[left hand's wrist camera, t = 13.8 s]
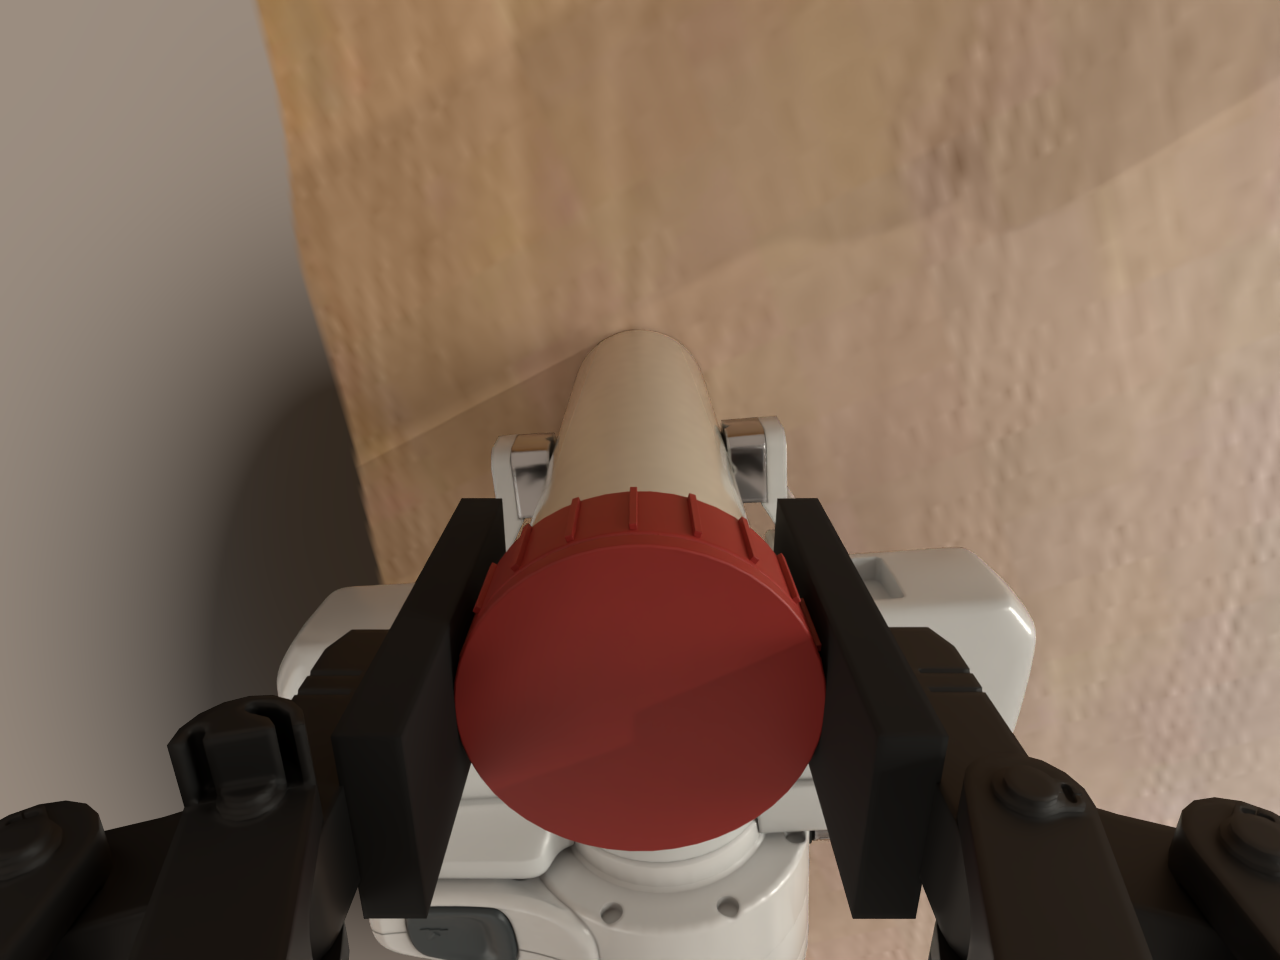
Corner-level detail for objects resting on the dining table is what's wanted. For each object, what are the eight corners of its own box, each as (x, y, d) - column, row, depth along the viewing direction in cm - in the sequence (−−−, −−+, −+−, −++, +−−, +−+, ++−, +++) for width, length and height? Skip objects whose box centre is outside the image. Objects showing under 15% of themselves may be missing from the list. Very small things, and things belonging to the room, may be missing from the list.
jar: (715, 443, 27) (812, 786, 12) (590, 467, 27) (529, 830, 12) (692, 317, 25) (771, 527, 10) (560, 344, 25) (446, 587, 10)
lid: (823, 740, 13) (851, 827, 11) (522, 789, 14) (505, 880, 12) (782, 454, 11) (808, 505, 9) (432, 521, 12) (396, 582, 10)
